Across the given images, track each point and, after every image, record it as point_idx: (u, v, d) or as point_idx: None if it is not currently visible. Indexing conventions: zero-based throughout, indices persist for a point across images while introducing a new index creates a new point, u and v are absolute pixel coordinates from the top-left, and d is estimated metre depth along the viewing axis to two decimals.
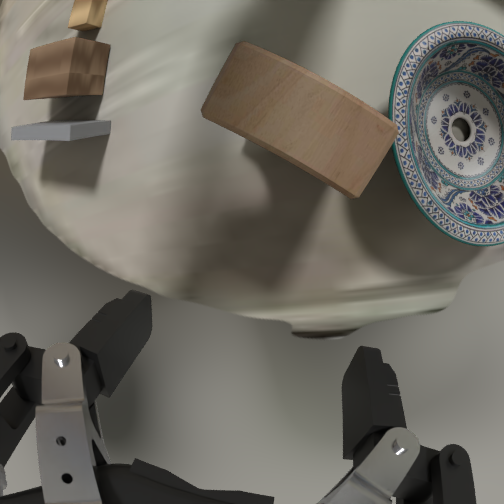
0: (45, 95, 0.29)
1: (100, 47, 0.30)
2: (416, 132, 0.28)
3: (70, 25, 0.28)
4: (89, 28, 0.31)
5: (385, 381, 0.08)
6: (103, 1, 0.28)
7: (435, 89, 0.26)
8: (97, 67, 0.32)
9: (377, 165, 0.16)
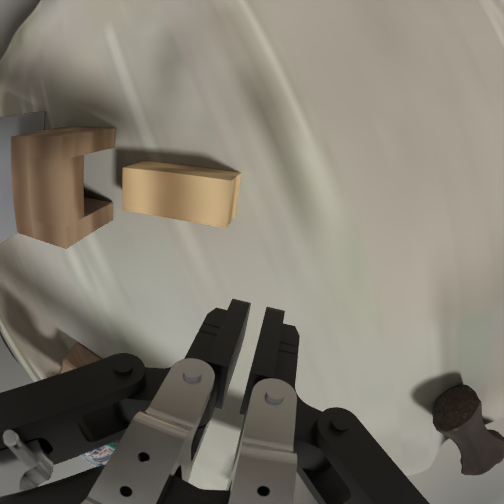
0: (13, 191, 0.22)
1: None
2: None
3: (125, 173, 0.24)
4: None
5: (278, 337, 0.10)
6: None
7: None
8: None
9: None
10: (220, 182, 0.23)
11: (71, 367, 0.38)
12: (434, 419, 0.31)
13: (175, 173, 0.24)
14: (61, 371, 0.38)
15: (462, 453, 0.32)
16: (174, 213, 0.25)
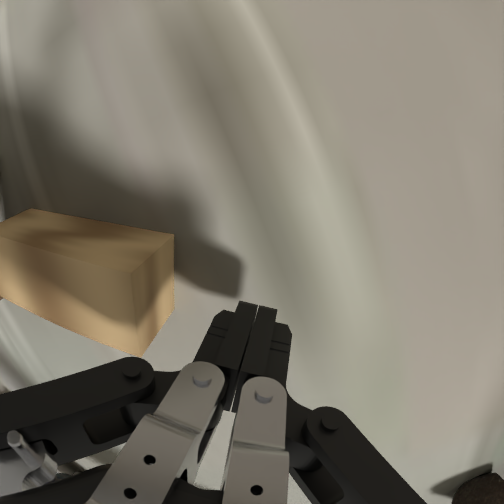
0: None
1: None
2: None
3: None
4: None
5: (270, 336, 0.10)
6: None
7: None
8: None
9: None
10: (112, 275, 0.10)
11: None
12: None
13: (41, 248, 0.10)
14: None
15: None
16: (57, 317, 0.12)
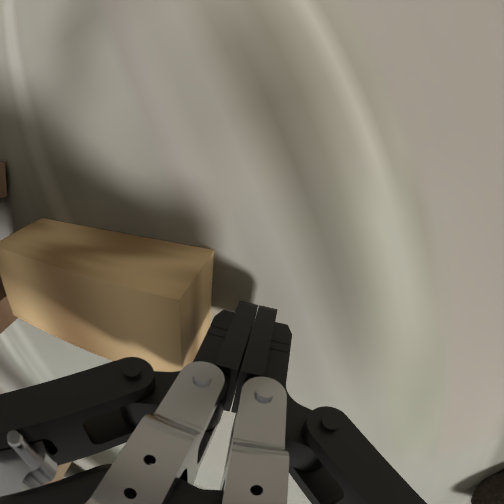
0: None
1: None
2: None
3: None
4: None
5: (270, 336, 0.10)
6: None
7: None
8: None
9: None
10: (155, 301, 0.09)
11: None
12: None
13: (64, 268, 0.09)
14: None
15: None
16: (83, 341, 0.11)
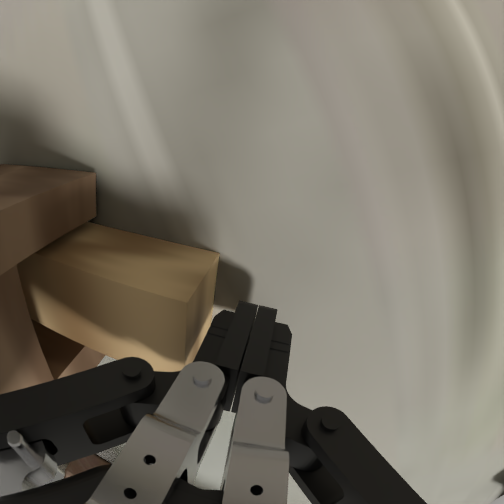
0: None
1: None
2: None
3: None
4: None
5: (270, 336, 0.10)
6: None
7: None
8: None
9: None
10: (162, 303, 0.09)
11: None
12: None
13: (69, 265, 0.09)
14: None
15: None
16: (84, 338, 0.11)
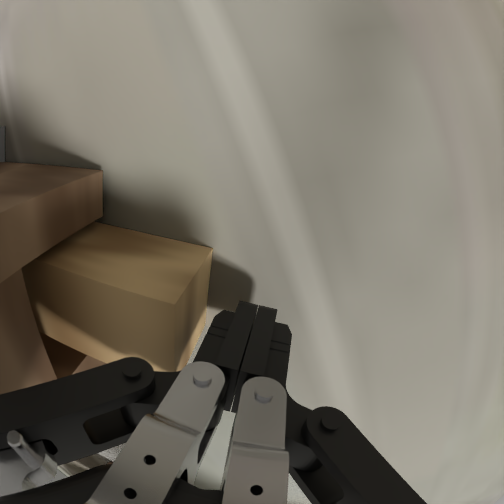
0: None
1: None
2: None
3: None
4: None
5: (270, 336, 0.10)
6: None
7: None
8: None
9: None
10: (149, 304, 0.09)
11: None
12: None
13: (55, 265, 0.09)
14: None
15: None
16: (72, 341, 0.10)
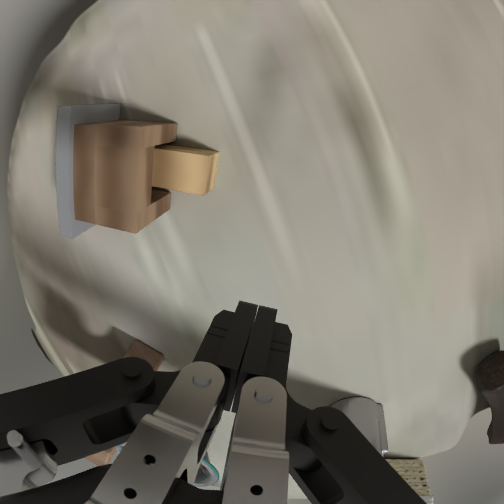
0: (74, 178, 0.26)
1: None
2: None
3: None
4: None
5: (270, 336, 0.10)
6: None
7: None
8: None
9: (89, 459, 0.32)
10: (200, 157, 0.28)
11: None
12: (479, 381, 0.34)
13: (164, 150, 0.28)
14: None
15: (494, 420, 0.35)
16: (161, 183, 0.30)
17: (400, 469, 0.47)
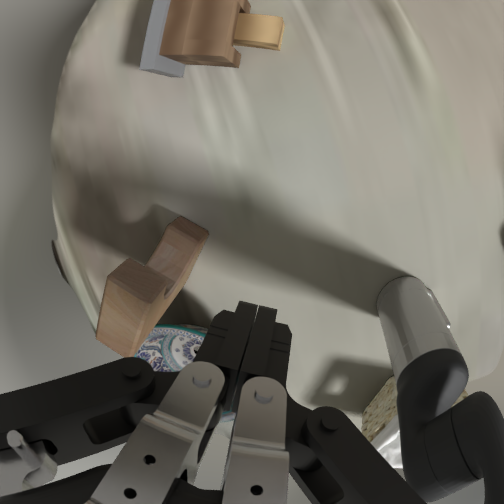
0: (167, 22, 0.27)
1: (229, 64, 0.33)
2: None
3: None
4: None
5: (270, 336, 0.10)
6: (238, 44, 0.33)
7: None
8: (206, 62, 0.34)
9: (111, 348, 0.33)
10: (275, 18, 0.29)
11: (177, 234, 0.42)
12: None
13: (244, 13, 0.29)
14: (161, 242, 0.42)
15: None
16: (240, 36, 0.30)
17: None
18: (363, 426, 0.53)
